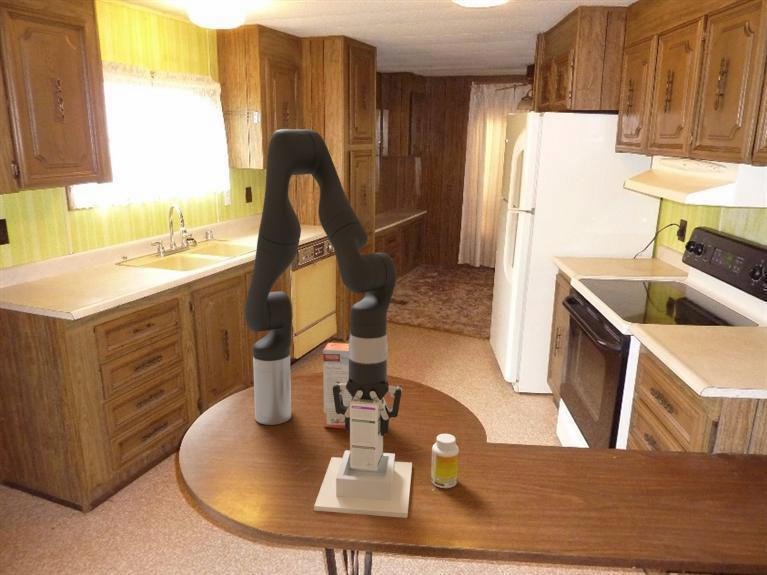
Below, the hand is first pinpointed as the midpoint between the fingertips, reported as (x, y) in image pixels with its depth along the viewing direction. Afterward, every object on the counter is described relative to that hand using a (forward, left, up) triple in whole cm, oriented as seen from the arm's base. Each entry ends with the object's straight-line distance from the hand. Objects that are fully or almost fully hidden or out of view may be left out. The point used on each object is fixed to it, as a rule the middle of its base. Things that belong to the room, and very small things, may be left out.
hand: (366, 433), depth 114 cm
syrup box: (0, 0, -7) cm, 7 cm away
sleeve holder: (0, 0, -12) cm, 12 cm away
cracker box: (-27, -7, -12) cm, 31 cm away
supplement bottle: (-4, +16, -12) cm, 21 cm away
